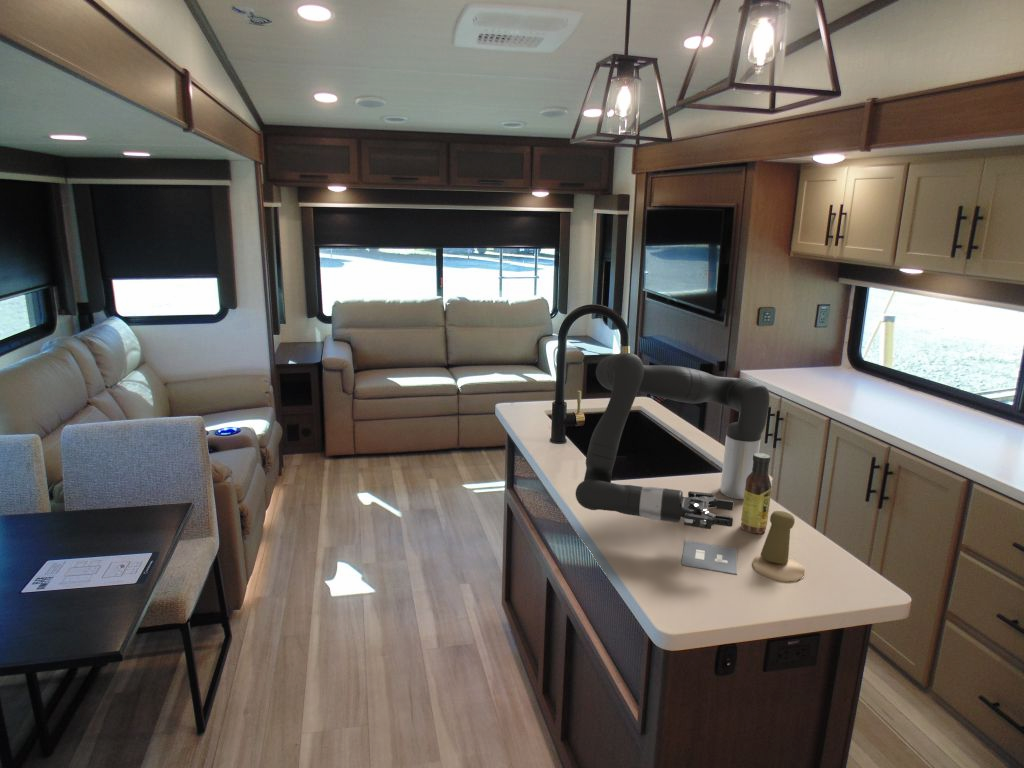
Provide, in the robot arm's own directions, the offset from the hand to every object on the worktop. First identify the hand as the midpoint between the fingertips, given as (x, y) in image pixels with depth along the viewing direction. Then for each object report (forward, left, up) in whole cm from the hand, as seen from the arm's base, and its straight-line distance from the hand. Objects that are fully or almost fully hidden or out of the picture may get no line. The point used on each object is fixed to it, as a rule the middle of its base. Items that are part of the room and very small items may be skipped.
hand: (732, 513), depth 153 cm
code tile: (+1, -4, -11) cm, 12 cm away
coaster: (+1, +11, -11) cm, 16 cm away
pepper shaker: (-2, +10, -11) cm, 15 cm away
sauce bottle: (-18, +6, -12) cm, 23 cm away
